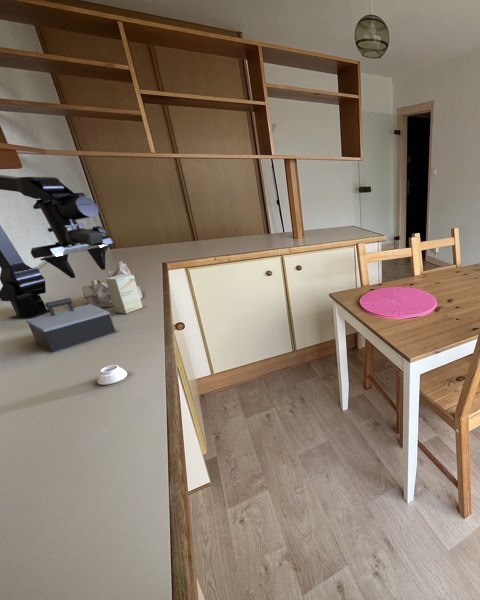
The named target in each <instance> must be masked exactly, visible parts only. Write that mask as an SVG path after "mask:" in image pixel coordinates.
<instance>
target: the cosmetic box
mask: <svg viewBox="0 0 480 600" xmlns="http://www.w3.org/2000/svg"><path fill="white" fill-rule="evenodd" d="M105 280H106V282H107V285H108V289H109V292H110V295H111V298H112V301H113V304H114V306H113V307H114V310H115V313H118V314H129V313H132V312H134V311H137V310H140V309H142V308H144V306H143V303H142V298H140V296H139V292H138V289H137V287H138V286H137V283H136V279H135V276H134V274H131V275H130V274H122V275H118V276H114V277H110V278H109V277H107V278H105Z"/></svg>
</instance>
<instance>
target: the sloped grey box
mask: <svg viewBox="0 0 480 600" xmlns="http://www.w3.org/2000/svg"><path fill="white" fill-rule="evenodd" d="M28 328H29V329H30V331H31V333H32V336H33V338H34V340H35V342H36V343H37V344H38V345H40V346H42V347H43V348H45V349H46V350H48V351H50V352H52V353H54V352H57V351H61V350H63V349H66V348H70V347H74V346H75V345H76V346H77V345H79V344H82V343H86V342H88V341H92V340H94V339H98V338H101V337H103V336H108V335H110V334H112V333H116V328H115V326H114V324H113V319H112V317H111V314H110V313H109V314H107V315H104V316H100V317H97V318H93V319H89V320H86V321H82V322H79V323H75V324H72V325H68V326H64V327H61V328H57V329H54V330H50V331H47V332H43V331H41V330H39V329H37V328H36V327H34V326H32V325H30V324H28Z"/></svg>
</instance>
